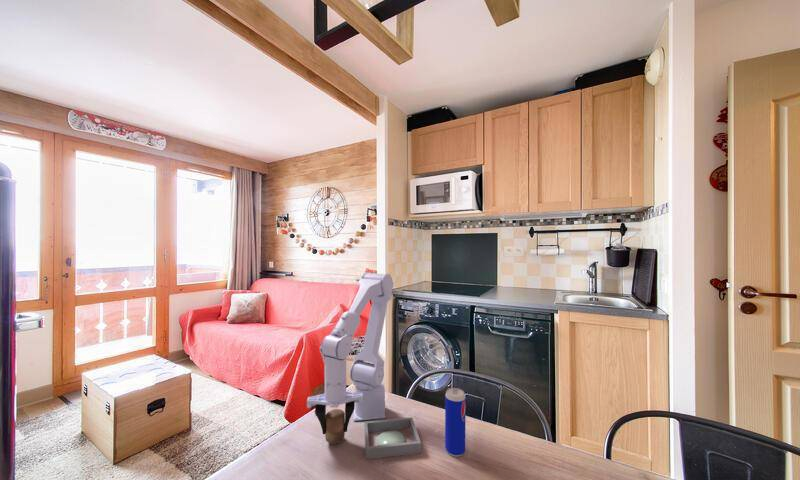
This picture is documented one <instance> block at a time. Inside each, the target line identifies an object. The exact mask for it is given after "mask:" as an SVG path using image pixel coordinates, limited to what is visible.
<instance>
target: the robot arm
mask: <svg viewBox="0 0 800 480" xmlns="http://www.w3.org/2000/svg"><path fill="white" fill-rule="evenodd" d="M358 287H359V289H358V291H357V293H356V296H355V297H354V299H353V301H352V303H351V306H350V308H349V309H348V310H347V311H344V312H342V315H341V316H340V318H339V320H338V321H337V323H336V324H335V326H334V327H333V329H332V331H331V333H330V334H328V335H326V336H325V337H324V338H323V339H322V341H321V344H320V347H319V353H320V354H321V356H322V362H323V363H324V392H323V393H321V394H317V395H314V396H308V397H307V400H306V409H310V408H312V407H315V408H314V414H315V417H317V419H318V421H319V424H320V427H321V430H322V435H326V414H327V412H326V411H327V406H329V407H330V408H338V407H339V405H343V404H345V405H344V406H345V407H344V412H345V427H344V432H345V433H347V432H348V427H349V424H350V421H351V420H350V419H351V418H352V415H353V421H354V422H357V421H358V422H359V421H372V420H383V419H385V418H386V412H385V411H386V410H385V409H386V391H385V390H386V387H385V383H384V382H383V381H384V376H385V370H384V369H385V361H384V359H383V358H382V356H381V355H380V354H379V350H380V344H381V340H382V334H383V328H384V325H385V318H386V314H387V309H388V305H389V304H388V303H389V301H390V300H391V299H392V293H393V289H394V280H393V277H392V276H391V274H389V273H375V272H373V273H372V272H364V273H363V274H362V275H361V277H360V279H359V281H358ZM370 301H371V306H370V312H369V317H368V320H367V321H368V322H367V326H366V330H365V336H364V337H365V338H364V341H363V345H362V350H361V351H360V352H359V353H357V354H356V355H354V358H353V361H352V363H351V366H350V368H349V379H350V380H351V381H352V382H353V385H354V387H355V389H354V392H353V391H347V358H348V356H349V354H350V353H351V349H352V343H353V341H354V340H353V337H354V335H355V333H356V331H357V329H358V328H359V326H360V324H361V317H360V316H361V315H362V313H363V311H364V310H365V308H366V307H367V305H368V304H369V302H370Z"/></svg>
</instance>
